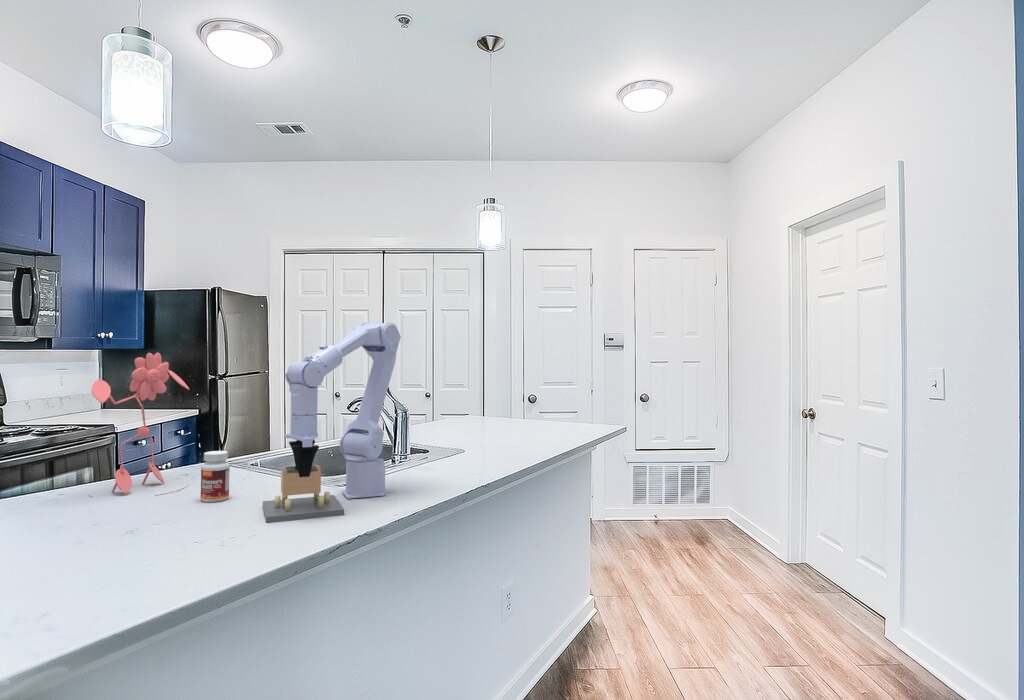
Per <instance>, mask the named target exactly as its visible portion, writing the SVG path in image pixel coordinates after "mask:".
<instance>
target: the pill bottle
mask: <svg viewBox="0 0 1024 700" xmlns="http://www.w3.org/2000/svg"><path fill="white" fill-rule="evenodd" d="M228 459H229V452H228V451H226V450H211V451H206V452H203V462H204V463H203V464H202V465H201V466H200V500H201V502H205V503H216V502H223V501H226V500H228V499H229V497H230V467H231V466H230V463H228V462H227V460H228Z"/></svg>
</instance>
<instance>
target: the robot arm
mask: <svg viewBox="0 0 1024 700" xmlns="http://www.w3.org/2000/svg"><path fill="white" fill-rule="evenodd" d="M401 338H402V337H401V334H400V331H399V329H398V327H397V325H396V324H395V323H394V322H362V323H360V325H356V326H355V327H354V330H353V331H352V332H350V333H348V334H347V335H346V336H345V337H344V338H342V339H341V340H340V341H338V342H337V343H335V344H334V345H333V344H321V345H320V346H319V349H318V350H317V351H315V352H313V353H311V354H307V355H306V356H304V359H303V360H298V361H294V362H292V363H291V364H290V366H288V369H287V371H286V373H284V375H285V380H286V382H287V384H288V385H289V389H288V390H289V392H290V429H289V430H290V431H289V432H290V433H285V434H284V439H292V440H293V441H292V440H291V441H288V444H289V446H290V448H291V451H292V453H293V454H292V455H293V458H294V466H298V473H299V476H300V477H309V476H310V473H311V469H312V465H314V464H313V462H314V459H315V457H316V454H317V452H318V450H319V447H320V446H319V445H318V444H315V443H316V441H315V440H316V439H317V438H319V433H318V403H319V402H318V401H319V399H318V395H319V393H318V392H319V391H318V389H319V387H318V386H321V385H322V383H323V381H324V378H325V376H327V375H328V374H330V372H332V371H334V370H335V369H337V368H338V367H340V366H341V365H342V363H343V358H344V357H346V356H348V355H349V354H351V353H353V352H354V351H355V350H357V349H360V347H362V349H364V351H365V352H366V354H367V355H368V356H369V357H370V358H371V360H372V361H373V362H372V365H371V368H370V373H369V375H368V379H367V381H366V385H365V388H364V393H363V395H362V400H361V402H360V407H359V410H358V413H357V416H356V418H355V420H353V421H352V422H350V423H349V424H347V426H346V429H345V432H344V433H343V435H342V436H341V438H340V440H339V450H340V452H341V454H342V455H343V456H344V457H343V459H344V460H346V461H345V464H346V465H345V489H342V490H341V493H342V494H343V495H344V497H345V498H346V499H349V500H351V499H362V498H374V497H383V496H387V495H386V494H387V493H386V464H385V460H384V458H379V456H380V455H381V454H382V451H383V448H384V447H383V446H384V443H383V441H384V439H383V438H384V435H385V431H384V430H383V429H382V428H381V426H380V424H379V421H380V417H381V413H382V411H383V408H384V407H383V406H384V403H385V400H386V396H387V393H388V389H389V385H390V381H391V378H392V375H393V372H394V368H395V365H396V360H397V351H398V348H399V344H400V341H401Z"/></svg>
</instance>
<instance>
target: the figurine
mask: <svg viewBox="0 0 1024 700" xmlns="http://www.w3.org/2000/svg"><path fill="white" fill-rule="evenodd" d="M134 365H135V368H136V369H135V370H134V371H132V373H131V376H130V377H131V379H132V380H131V382H130V386H129V391H130V392H136V393H134V394H133V395H132V396H129V397H126V398H123V399H120V400H118V401H116V400H115V399H114V398H113V396H112V395H111V392H112V390H111V387H110V385H109V384H108V382H107V381H105V380H102V379H103V378H98V379H97V380H95V381H94V382H93V383H92V386H91V394H92V396H93V397H94V398H95V400H97V401H98V402H99V403H101V404H102V405H103V404H104V403H105V402H107V400H108V399H110V401H111V403H112V404H114V406H116V405H119V404H121V403H124V402H127V401H129V400H131V399H136V401H137V402H138V404H139V406H140V408H141V414H142V415H141V416H142V422H143V423H142V424H143V426H139V427H138V428H137V430H136V433H137V434H136V435H134V436H132V437H130V438H129V439H127V440H124V441H122V442H121V443H119V453H120V454H119V455H120V467H121V468H119V469H117V470H116V471H115V474H114V475H115V476H114V480H115V481H114V482H115V484H114V486H113V487H112V489H111V493H114V492H115V490H116V489H117V487H118V489H119V490H120V491H121V492H122V493H123V494H124V495H125V496H127V494H128V493H129V492H130V490H131V488H132V482H133V481H132V476H131V475H130V473H129V472H128V470H126V468H124V465H123V464H124V463H123V462H124V461H123V450H122V445H123V444H126V443H127V442H130V441H131V440H133V439H135V438H137V437H141V438H144V437H147V436H149V438H150V440H151V461H149V462H148V467H149V468H148V470H147V472H146V474H145V477H143V480H142V482H141V485H143V484H144V485H145V483H146V481H147V478H148V477H149V474H150V473H151V472H152V474H153V475H154V477H155V478H156V479H157V480H159V482H161V483H162V484H164V485H165V480H164V478H163V475H162V474H161V472H160V470H159V469H158V467H157V466H156V465H155V464H154V438H153V437H152V435H151V433H150V432H151V430H150V428H149V427H148V426H146V417H145V408H144V405H143V404H142V402H143V401H146V400H147V399H148V400H149V401H152V402H153V401H154V400H156V397H157V394H164V393H165V392H167V386H166V385H165V383H166V382H167V381H168V380H169V378H170V376H171V378H173V380H174V381H175V382H176V383H178V385H181V387H183V388H185V389H187V390H188V391H190V387H189V386H188V385H187V383H185V381H184V380H183V379H182V378H181V377H180V376H178V374H176V373H175V372H174V371H172V370H169V368H170V367H169V366H170V363H169V362H168V361H164V362H162V355H161V353H160V352H156V353H155V354H153V353H151V352H148V353H147V354H146V355H145V358H144V357H141V356H140V357H137V358H134ZM186 483H187V485H186V486H185V487H183V488H180V489H177V490H175V491H170V492H166V493H161V494H157V495H156V494H155V495H154V496H155V497H156V496H162V495H163V496H164V495H167V494H173V493H175V492H180V491H182V490H183V489H186V488H187V487H190V485H189V482H188V481H187V482H186ZM88 497H90V498H93V496H91V495H88Z"/></svg>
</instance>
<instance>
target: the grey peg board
mask: <svg viewBox="0 0 1024 700" xmlns="http://www.w3.org/2000/svg"><path fill="white" fill-rule="evenodd" d="M323 493H324V495H320V493H313V496H307V497H306V496H305V497H296V498H288V497H289V495H288V496H283V495H282V494H281V495H275V496H274V500H273V499H272V500H263V501H262V509H263V510H262V511H263V514H264V519H265V523H267V524H268V523H278V522H286V521H297V520H307V519H316V518H318V519H319V518H326V517H327V518H328V517H337V516H344V515H345V508H344V507H343V505H342V504H341V503H340V501H339V500H338V499H337V497H336V496H335V495H334V494H332V495H331V492H330V491H324V492H323Z"/></svg>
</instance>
